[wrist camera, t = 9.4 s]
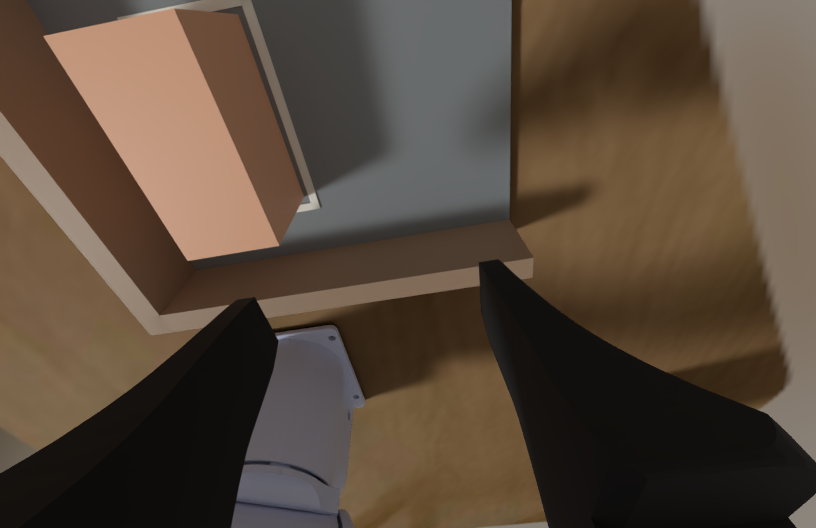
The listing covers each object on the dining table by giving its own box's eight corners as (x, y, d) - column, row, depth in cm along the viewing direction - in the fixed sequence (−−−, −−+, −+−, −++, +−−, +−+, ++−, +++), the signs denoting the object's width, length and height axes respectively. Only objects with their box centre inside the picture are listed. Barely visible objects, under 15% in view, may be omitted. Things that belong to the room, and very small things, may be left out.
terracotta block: (144, 33, 14) (43, 35, 10) (238, 14, 14) (173, 8, 10) (232, 209, 19) (187, 260, 14) (304, 196, 18) (279, 245, 14)
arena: (507, 233, 21) (532, 277, 17) (191, 283, 22) (150, 335, 18) (508, -172, 12) (563, -264, 8) (-29, -51, 13) (-200, -84, 9)
